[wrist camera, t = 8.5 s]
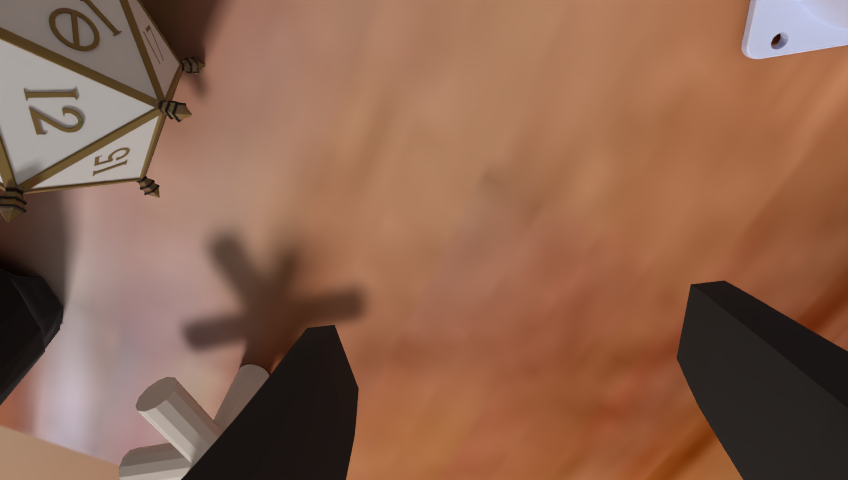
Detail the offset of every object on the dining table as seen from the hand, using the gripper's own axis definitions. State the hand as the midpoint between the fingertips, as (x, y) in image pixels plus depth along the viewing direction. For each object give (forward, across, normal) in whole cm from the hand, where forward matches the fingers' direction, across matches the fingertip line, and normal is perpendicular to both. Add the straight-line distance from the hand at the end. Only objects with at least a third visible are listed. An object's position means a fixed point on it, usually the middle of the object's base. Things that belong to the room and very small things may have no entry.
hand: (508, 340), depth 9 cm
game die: (+11, +12, -6) cm, 18 cm away
